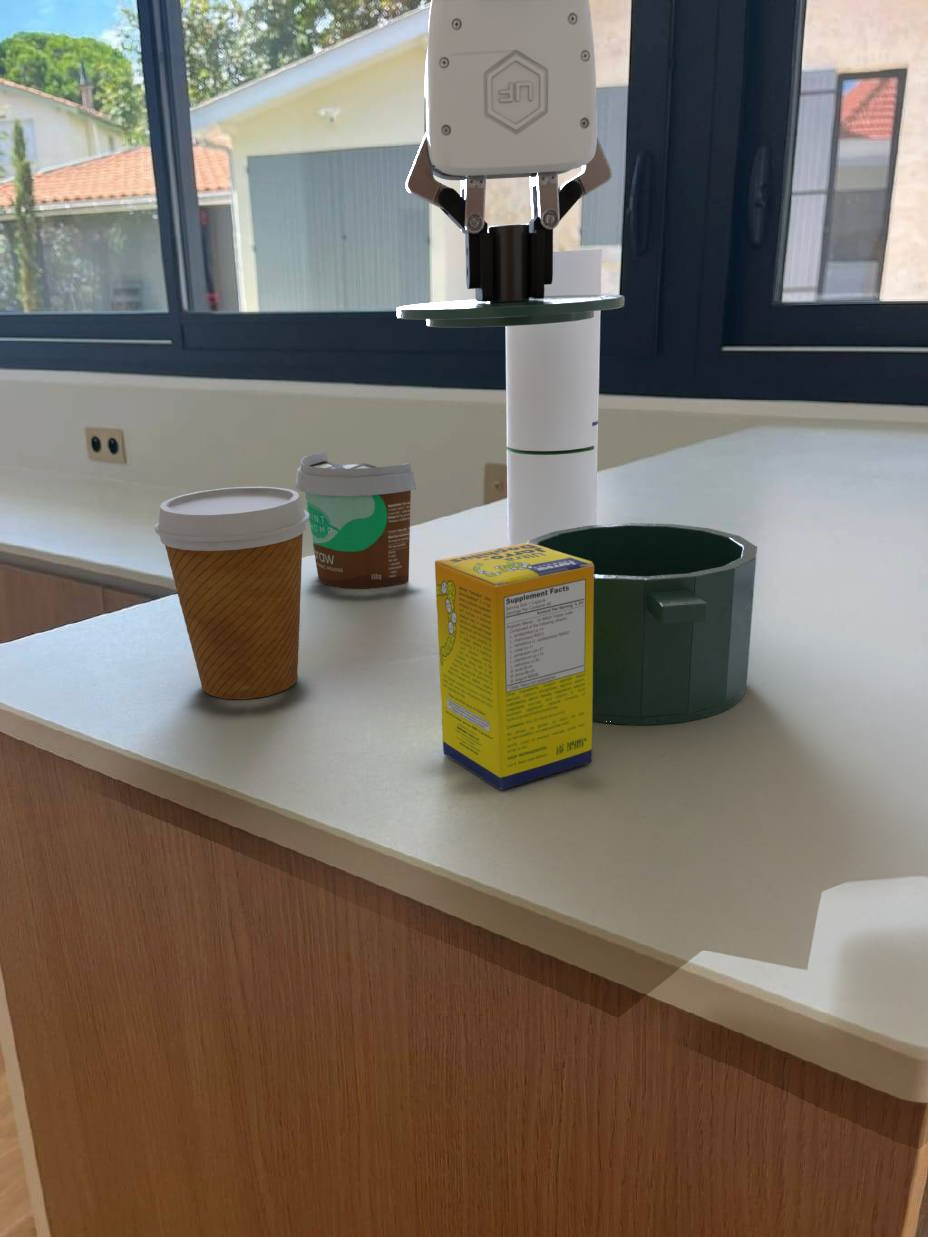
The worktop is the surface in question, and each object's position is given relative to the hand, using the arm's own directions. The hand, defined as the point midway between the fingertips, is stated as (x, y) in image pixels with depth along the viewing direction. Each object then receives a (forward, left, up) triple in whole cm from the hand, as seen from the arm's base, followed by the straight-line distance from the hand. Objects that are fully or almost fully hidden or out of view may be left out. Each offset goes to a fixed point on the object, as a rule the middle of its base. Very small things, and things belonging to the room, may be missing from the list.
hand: (509, 296), depth 72 cm
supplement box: (+4, +22, -23) cm, 32 cm away
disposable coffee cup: (+19, +7, -23) cm, 30 cm away
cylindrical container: (-5, -13, -23) cm, 26 cm away
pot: (-5, +12, -22) cm, 26 cm away
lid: (0, 0, -1) cm, 1 cm away
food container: (+12, -17, -23) cm, 30 cm away
